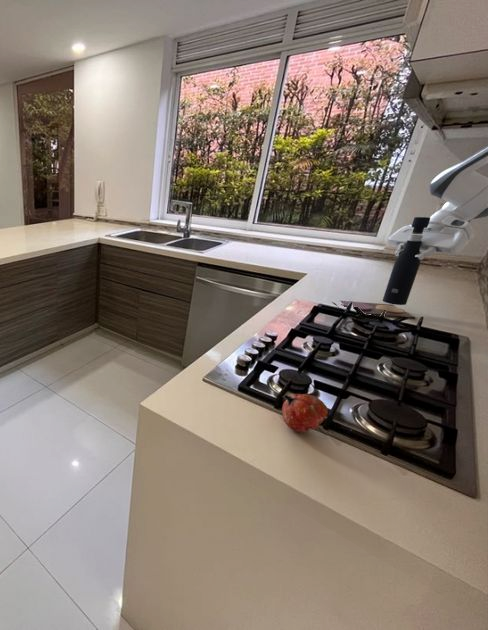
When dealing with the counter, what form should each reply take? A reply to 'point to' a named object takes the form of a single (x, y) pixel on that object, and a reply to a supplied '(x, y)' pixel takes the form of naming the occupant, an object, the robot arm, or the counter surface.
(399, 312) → the placemat
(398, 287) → the dark water bottle
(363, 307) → the plum plate
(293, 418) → the pomegranate
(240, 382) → the counter surface
